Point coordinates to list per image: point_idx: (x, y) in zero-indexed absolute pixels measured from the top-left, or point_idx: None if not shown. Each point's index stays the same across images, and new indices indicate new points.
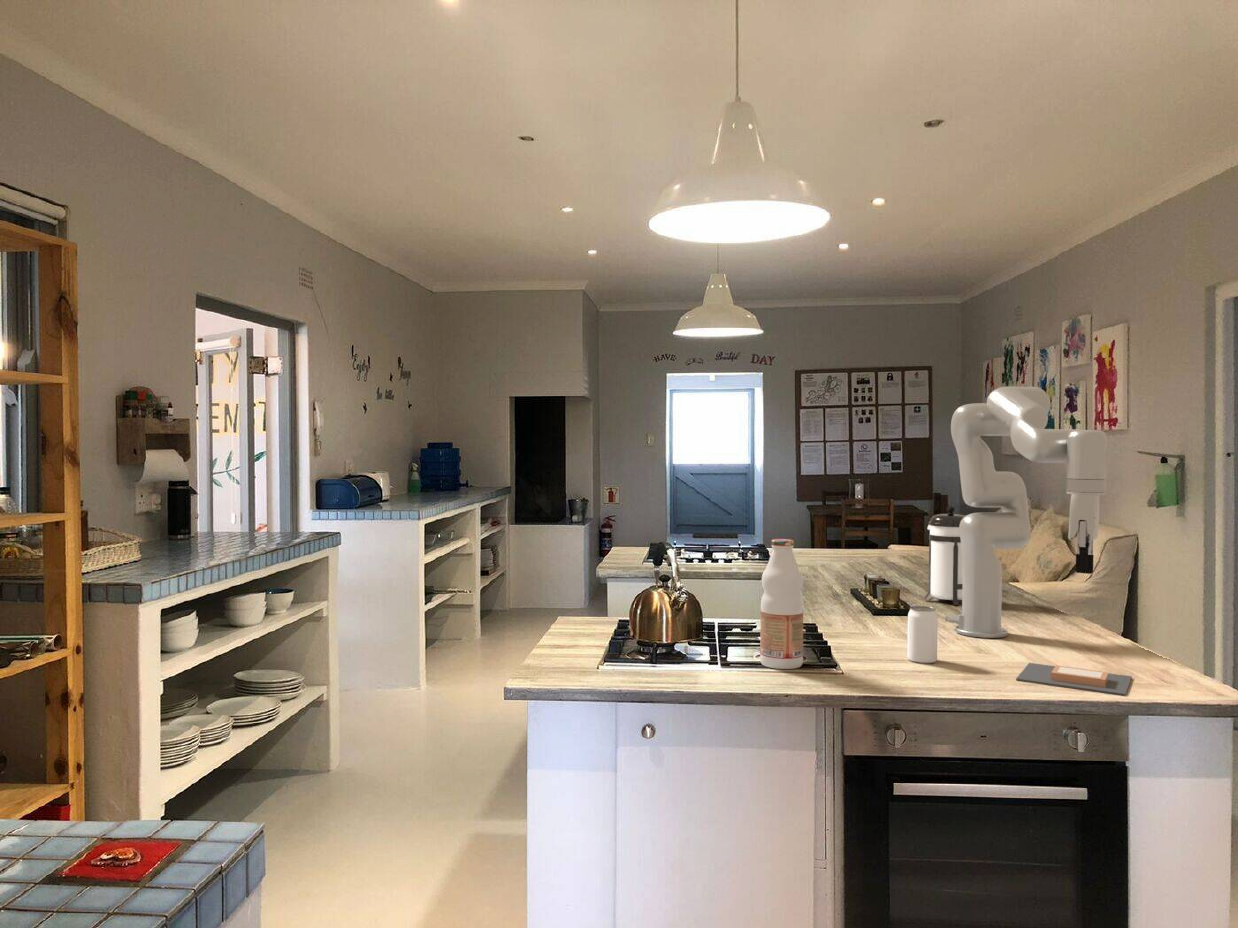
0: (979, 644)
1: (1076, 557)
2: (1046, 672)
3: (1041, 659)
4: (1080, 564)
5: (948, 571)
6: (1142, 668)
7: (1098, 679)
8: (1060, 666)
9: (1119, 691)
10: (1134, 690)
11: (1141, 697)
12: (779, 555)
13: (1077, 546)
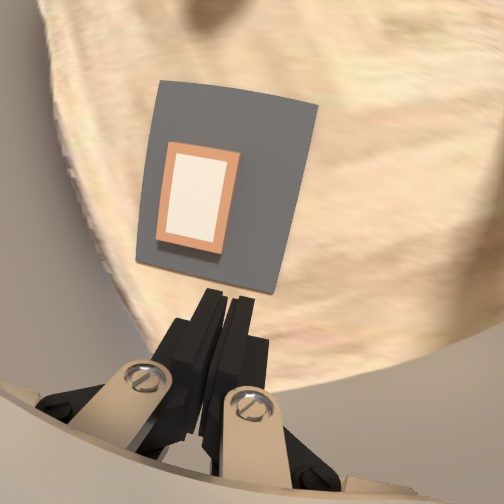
0: (461, 40)
1: (181, 344)
2: (236, 134)
3: (380, 138)
4: (166, 334)
5: None
6: (361, 320)
7: (157, 227)
8: (233, 162)
9: (146, 254)
10: (181, 280)
11: (141, 281)
12: None
13: (92, 406)
